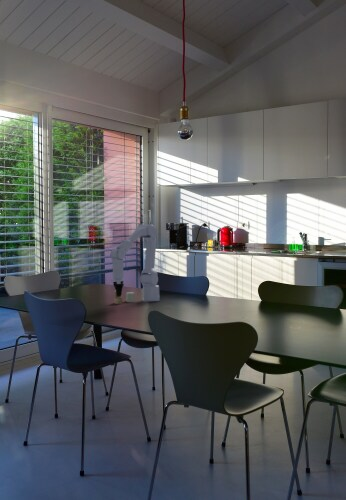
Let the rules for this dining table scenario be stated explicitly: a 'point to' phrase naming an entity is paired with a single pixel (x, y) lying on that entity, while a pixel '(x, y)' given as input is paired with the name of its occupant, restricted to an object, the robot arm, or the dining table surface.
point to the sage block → (130, 297)
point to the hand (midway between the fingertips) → (118, 295)
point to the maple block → (118, 299)
